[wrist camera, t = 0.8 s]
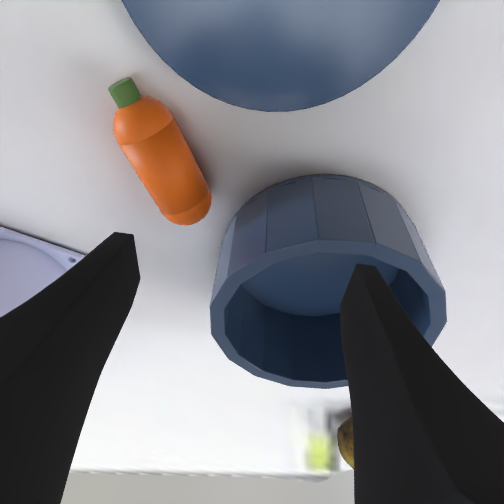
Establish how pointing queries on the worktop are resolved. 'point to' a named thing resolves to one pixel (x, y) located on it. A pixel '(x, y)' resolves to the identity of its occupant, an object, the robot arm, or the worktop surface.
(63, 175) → the worktop surface
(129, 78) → the carrot
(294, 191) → the pot
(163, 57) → the lid
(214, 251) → the worktop surface
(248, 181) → the worktop surface
